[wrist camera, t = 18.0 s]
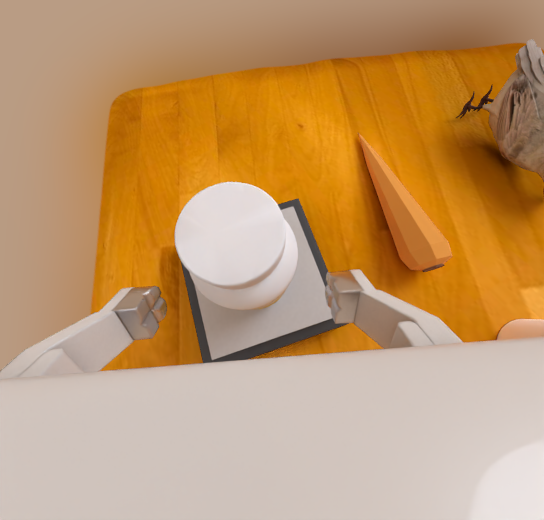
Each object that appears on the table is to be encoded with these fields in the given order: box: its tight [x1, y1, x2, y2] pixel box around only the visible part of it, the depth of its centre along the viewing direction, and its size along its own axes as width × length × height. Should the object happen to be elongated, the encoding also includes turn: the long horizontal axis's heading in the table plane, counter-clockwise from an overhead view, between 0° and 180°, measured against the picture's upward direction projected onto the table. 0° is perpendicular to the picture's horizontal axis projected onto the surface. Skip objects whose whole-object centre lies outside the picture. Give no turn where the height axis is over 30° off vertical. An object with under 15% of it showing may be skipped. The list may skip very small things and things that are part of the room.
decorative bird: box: [456, 39, 544, 192], centre depth 22 cm, size 5×16×8 cm, turn 24°
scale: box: [181, 199, 349, 363], centre depth 21 cm, size 14×14×3 cm
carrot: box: [358, 133, 452, 272], centre depth 23 cm, size 20×4×4 cm, turn 14°
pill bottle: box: [175, 182, 298, 310], centre depth 14 cm, size 6×6×12 cm
